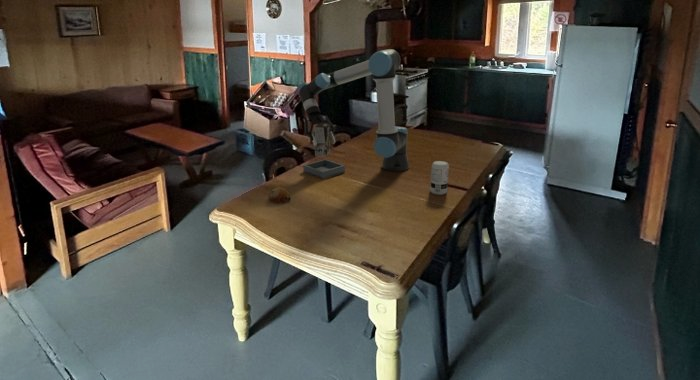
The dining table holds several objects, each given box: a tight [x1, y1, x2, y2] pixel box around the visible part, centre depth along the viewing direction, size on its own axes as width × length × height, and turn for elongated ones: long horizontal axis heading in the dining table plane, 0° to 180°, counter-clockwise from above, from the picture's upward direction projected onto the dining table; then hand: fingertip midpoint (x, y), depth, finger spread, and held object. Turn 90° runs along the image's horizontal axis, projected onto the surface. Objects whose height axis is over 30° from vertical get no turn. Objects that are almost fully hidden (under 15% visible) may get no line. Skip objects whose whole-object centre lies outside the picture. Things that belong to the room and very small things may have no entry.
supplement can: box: [429, 160, 450, 196], centre depth 242 cm, size 8×8×15 cm
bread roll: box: [267, 186, 292, 205], centre depth 233 cm, size 10×10×8 cm
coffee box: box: [314, 122, 331, 158], centre depth 265 cm, size 9×6×16 cm
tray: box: [302, 158, 346, 180], centre depth 271 cm, size 16×16×4 cm
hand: (325, 144), depth 263 cm, fingers closed on coffee box, 10 cm apart
